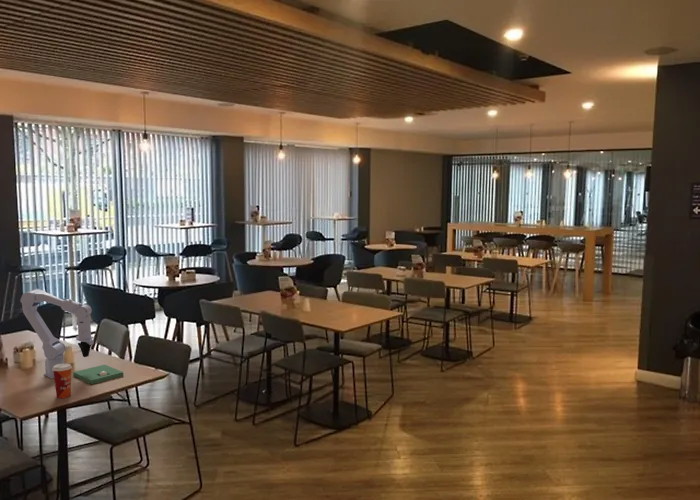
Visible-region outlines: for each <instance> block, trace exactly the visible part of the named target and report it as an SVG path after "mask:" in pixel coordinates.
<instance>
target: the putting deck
mask: <svg viewBox="0 0 700 500" xmlns="http://www.w3.org/2000/svg"><path fill="white" fill-rule="evenodd" d="M102 371H105V372H107V375H105V376H101V377H100V373H101V372H102ZM72 373H73V375H72V376H73V377H74V378H77V379H79V380H81V381H83V382H85V383H88V384H90V385H94V384H98V383H102V382H105V381H110V380H114V379H117V378H122V377H124V371H122V370H119V369H117V368H114V367H112V366H109V365H107V364H101V365H97V366H93V367H89V368H84V369H79V370H77V371H73V372H72Z"/></svg>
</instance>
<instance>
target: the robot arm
mask: <svg viewBox="0 0 700 500" xmlns="http://www.w3.org/2000/svg"><path fill="white" fill-rule="evenodd" d="M19 302H20V303H21V308H22V313H23V315H24V316H25V318H26V319H27V321H28V322H29V324H30V325H31V327H32V328H33V330H34V331H35V333H36V335H37V336H38V337H39V339H40V341H41V342H42V347H41V349H42V350H43V354H44V357H45V358H46V359H45V360H44V363H45V364H44V368H45V373H43V375H44V376H45V377H47V378H49V379H54V372H53V370H52V369H53V367H54V366H55V365H57V364H63V363H65V360H64V359H65V358H64V353H65V351H66V345H65V344H64V343H63V342H61V341H60V339H59V338H57V337H55V336H54V334H52V331H51V330H50V329H49V327H48V326H47V324H46V323H45V321H44V319H43V317H42V316H41V315H40V313H39V312H38V307H39V305H40V303H42V302H43V303H45V302H46V303H48V304H52V305H55V306H58V307H60V308H61V310H62V311H64V312H68V313H70V314H73V315H74V316H75V317H76V319H77V334H78V335H76V341H78V343H77V346H78V347H79V349H80V352H81V353H82V357H83V358H86V357H89V356H90V351H91V348H92V345H94V344H95V341H94V340H93V339H94V336H92V329H91V328H92V327H91V325H92V323H91V314H92V312H93V309H92V307H91V306H90V305H89V304H87V303H82V302H76V301H74V300H73V299H72V298H70V299H68V298H67V299H62V298H60V297H58V296H55V295H54V294H51V293H48V292H47V291H45V290H41V289H39V288H34V289H32V290H29V291H25V292H23V294H22V295H21V297H20V300H19Z"/></svg>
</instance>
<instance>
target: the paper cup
mask: <svg viewBox="0 0 700 500" xmlns="http://www.w3.org/2000/svg"><path fill="white" fill-rule="evenodd" d="M72 367H73V366H72V365H71V364H70V363H67V362H64V363H63V364H57V365H55V366H54V367H53V369H52V370H53V372H54V378H53V379H54V385H55V386H54V387H55V395H56V398H58V399H65V398H68V397H71V393H72V392H71V391H72Z"/></svg>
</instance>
